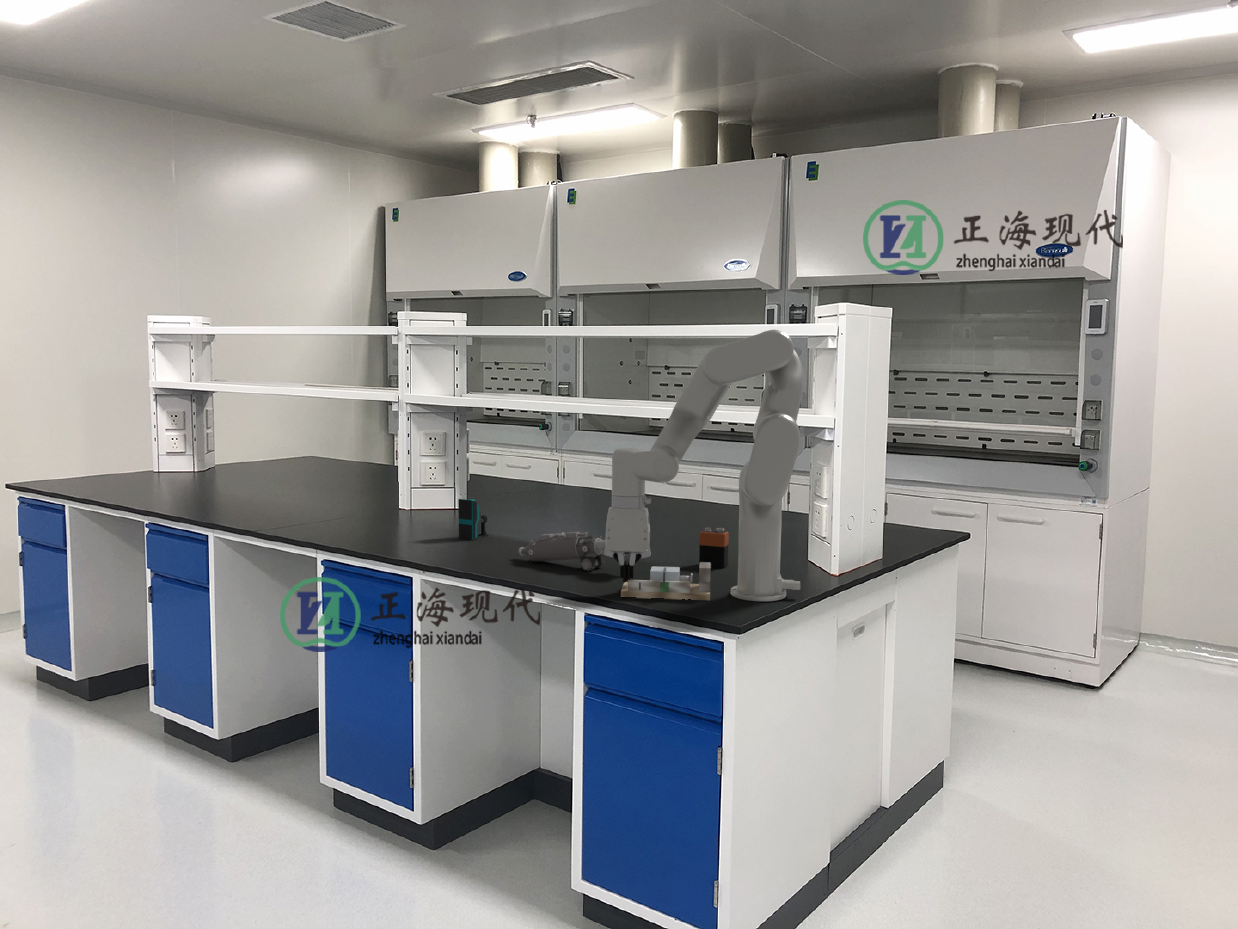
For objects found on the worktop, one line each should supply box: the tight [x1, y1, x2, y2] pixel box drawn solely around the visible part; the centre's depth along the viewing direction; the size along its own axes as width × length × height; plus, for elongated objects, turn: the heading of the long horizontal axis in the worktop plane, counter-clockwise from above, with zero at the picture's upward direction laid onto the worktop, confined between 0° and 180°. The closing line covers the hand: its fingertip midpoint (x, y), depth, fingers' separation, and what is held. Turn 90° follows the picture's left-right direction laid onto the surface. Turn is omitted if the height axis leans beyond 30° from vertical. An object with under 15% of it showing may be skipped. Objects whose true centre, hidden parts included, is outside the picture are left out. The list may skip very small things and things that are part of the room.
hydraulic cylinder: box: [517, 531, 631, 572], centre depth 241 cm, size 7×37×10 cm, turn 60°
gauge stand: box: [620, 562, 712, 601], centre depth 214 cm, size 20×9×7 cm, turn 85°
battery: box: [698, 527, 730, 569], centre depth 244 cm, size 4×7×10 cm, turn 67°
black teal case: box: [457, 498, 488, 541], centre depth 280 cm, size 6×12×10 cm
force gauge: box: [649, 566, 694, 585], centre depth 212 cm, size 10×8×4 cm
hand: (627, 581), depth 215 cm, fingers closed
